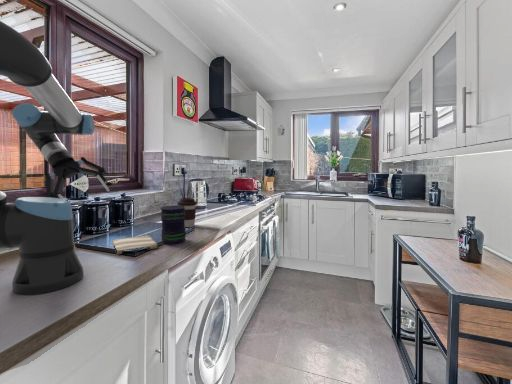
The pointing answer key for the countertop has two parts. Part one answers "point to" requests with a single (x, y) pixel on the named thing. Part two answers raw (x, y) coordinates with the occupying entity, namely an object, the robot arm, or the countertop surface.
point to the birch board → (133, 243)
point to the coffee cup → (189, 210)
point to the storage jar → (173, 225)
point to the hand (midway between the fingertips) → (89, 199)
